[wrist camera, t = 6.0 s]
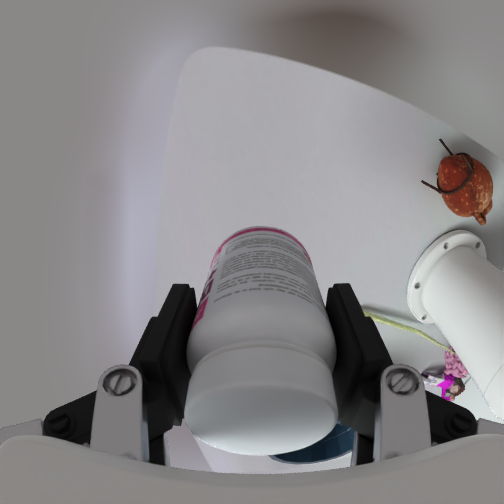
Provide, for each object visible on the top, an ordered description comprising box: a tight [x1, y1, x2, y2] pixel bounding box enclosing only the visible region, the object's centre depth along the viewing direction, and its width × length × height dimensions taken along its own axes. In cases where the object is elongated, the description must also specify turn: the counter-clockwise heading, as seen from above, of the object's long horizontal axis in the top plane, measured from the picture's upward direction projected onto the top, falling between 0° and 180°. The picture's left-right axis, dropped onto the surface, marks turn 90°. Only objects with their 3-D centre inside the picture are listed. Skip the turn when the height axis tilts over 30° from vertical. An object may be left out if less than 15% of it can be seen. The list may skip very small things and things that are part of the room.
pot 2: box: [421, 139, 493, 225], centre depth 20 cm, size 6×8×6 cm
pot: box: [268, 418, 354, 464], centre depth 34 cm, size 15×15×8 cm
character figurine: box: [422, 369, 465, 401], centre depth 35 cm, size 6×5×12 cm
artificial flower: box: [363, 311, 470, 378], centre depth 30 cm, size 7×7×25 cm
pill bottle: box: [184, 226, 338, 455], centre depth 10 cm, size 5×5×8 cm
